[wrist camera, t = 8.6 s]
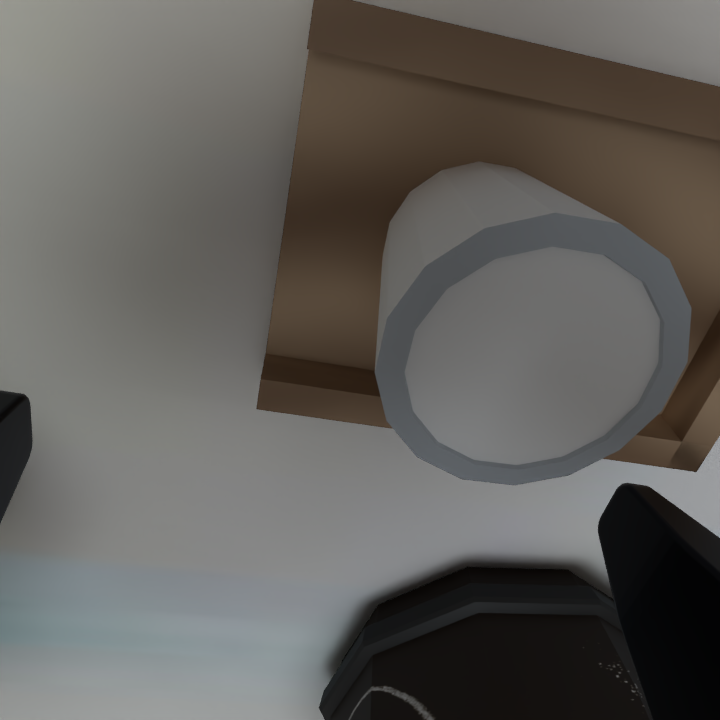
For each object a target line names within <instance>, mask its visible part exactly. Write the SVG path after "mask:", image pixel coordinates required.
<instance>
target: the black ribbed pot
mask: <svg viewBox="0 0 720 720" xmlns="http://www.w3.org/2000/svg"><path fill="white" fill-rule="evenodd" d="M319 709H320V711H321V713H322V715H323V717H324V719H325V720H652V717H651V714H650V711H649V708H648V705H647V702H646V699H645V696H644V693H643V690H642V688H641V685H640V682H639V679H638V676H637V673H636V670H635V667H634V664H633V661H632V658H631V655H630V653H629V650H628V647H627V644H626V641H625V638H624V635H623V632H622V628H621V625H620V622H619V618H618V615H617V611H616V607H615V603H614V600H613V599H612V598H610V597H609V596H607V595H606V594H604V593H603V592H601V591H600V590H598V589H597V588H595V587H594V586H592V585H591V584H589V583H588V582H586V581H585V580H583V579H581V578H580V577H578V576H577V575H575V574H574V573H572V572H571V571H569V570H562V569H525V568H487V567H466V568H464V569H461V570H459V571H457V572H454V573H452V574H450V575H447V576H445V577H443V578H440V579H438V580H435V581H433V582H431V583H428V584H426V585H424V586H421V587H419V588H417V589H414V590H412V591H409V592H407V593H405V594H402V595H400V596H398V597H395V598H393V599H391V600H388V601H386V602H384V603H381V604H379V605H378V606H377V608H376V609H375V611H374V613H373V614H372V616H371V617H370V619H369V620H368V622H367V623H366V625H365V626H364V628H363V629H362V631H361V633H360V634H359V636H358V637H357V639H356V640H355V642H354V643H353V645H352V646H351V648H350V650H349V651H348V653H347V654H346V656H345V657H344V659H343V660H342V664H341V665H340V667H339V668H338V670H337V672H336V673H335V675H334V676H333V678H332V679H331V681H330V682H329V684H328V685H327V687H326V688H325V690H324V692H323V696H322V699H321V703H320V706H319Z"/></svg>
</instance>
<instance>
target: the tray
mask: <svg viewBox="0 0 720 720" xmlns="http://www.w3.org/2000/svg"><path fill="white" fill-rule="evenodd" d="M307 49H309V52H308V59H307V66H306V74H305V81H304V88H303V95H302V102H301V109H300V116H299V123H298V130H297V137H296V144H295V151H294V158H293V165H292V172H291V179H290V186H289V193H288V200H287V207H286V215H285V222H284V229H283V236H282V243H281V250H280V257H279V264H278V271H277V278H276V285H275V292H274V299H273V306H272V313H271V320H270V327H269V334H268V341H267V349H266V355H265V360H264V365H263V370H262V375H261V381H260V388H259V395H258V402H257V409H259V410H266V411H273V412H280V413H287V414H294V415H301V416H308V417H315V418H322V419H329V420H336V421H343V422H350V423H357V424H364V425H371V426H378V427H385V428H392V427H391V426H390V424H389V423H388V422H387V421H386V417H385V413H384V409H383V404H382V400H381V396H380V392H379V388H378V384H377V380H376V376H375V361H376V346H377V331H378V316H379V302H380V287H381V272H382V257H383V251H384V247H385V242H386V237H387V232H388V227H389V223H390V221H391V219H392V218H393V216H394V215H395V213H396V212H397V210H398V209H399V208H400V206H401V205H402V203H403V202H404V200H405V199H406V197H407V196H408V194H409V193H410V191H412V190H413V189H415V188H416V187H418V186H419V185H421V184H422V183H424V182H425V181H426V180H428V179H429V178H431V177H432V176H434V175H435V174H437V173H438V172H440V171H441V170H444V169H448V168H452V167H457V166H461V165H466V164H470V163H474V162H485V163H491V164H496V165H502V166H507V167H513V168H516V169H518V170H520V171H522V172H524V173H526V174H527V175H529V176H531V177H533V178H535V179H537V180H539V181H541V182H543V183H544V184H546V185H548V186H550V187H552V188H554V189H556V190H558V191H560V192H561V193H563V194H565V195H567V196H569V197H571V198H573V199H575V200H577V201H578V202H580V203H582V204H584V205H586V206H588V207H590V208H592V209H594V210H595V211H597V212H599V213H601V214H603V215H605V216H607V217H609V218H611V219H612V220H614V221H616V222H618V223H620V224H622V225H623V226H624V227H626V228H627V229H629V230H630V231H631V232H633V233H634V234H636V235H637V236H638V237H640V238H641V239H642V240H644V241H645V242H647V243H648V244H649V245H651V246H652V247H653V248H655V249H656V250H658V251H659V252H660V253H662V254H663V255H664V256H666V257H667V258H669V260H670V262H671V264H672V266H673V268H674V271H675V273H676V275H677V277H678V279H679V282H680V284H681V286H682V288H683V291H684V293H685V295H686V297H687V299H688V302H689V304H690V306H691V308H692V309H691V323H690V336H689V350H688V362H687V364H686V366H685V368H684V370H683V372H682V373H681V375H680V377H679V379H678V381H677V383H676V385H675V387H674V389H673V390H672V392H671V394H670V396H669V398H668V400H667V402H666V404H665V405H664V407H663V409H662V411H661V412H660V413H659V414H658V415H657V416H656V417H655V418H654V419H653V420H651V421H650V422H649V423H648V424H647V425H646V426H645V427H644V428H643V429H642V430H641V431H640V432H639V433H637V434H636V435H635V436H634V437H633V438H632V439H631V440H630V441H629V442H628V443H627V444H626V445H625V446H623V447H622V448H621V449H620V450H619V451H617V452H615V453H613V454H611V455H609V456H607V457H605V458H603V459H609V460H616V461H623V462H631V463H638V464H645V465H652V466H659V467H666V468H673V469H680V470H687V471H694V472H697V470H698V469H699V467H700V466H701V464H702V462H703V461H704V459H705V458H706V456H707V455H708V453H709V451H710V450H711V448H712V447H713V445H714V443H715V442H716V440H717V439H718V437H719V436H720V87H718V86H714V85H710V84H705V83H701V82H697V81H693V80H688V79H684V78H680V77H676V76H671V75H667V74H663V73H659V72H654V71H650V70H646V69H642V68H637V67H633V66H629V65H625V64H620V63H616V62H612V61H607V60H603V59H599V58H595V57H590V56H586V55H582V54H578V53H573V52H569V51H565V50H561V49H556V48H552V47H548V46H544V45H539V44H535V43H531V42H527V41H522V40H518V39H514V38H510V37H505V36H501V35H497V34H493V33H488V32H484V31H480V30H476V29H471V28H467V27H463V26H459V25H454V24H450V23H446V22H441V21H437V20H433V19H429V18H424V17H420V16H416V15H412V14H407V13H403V12H399V11H395V10H390V9H386V8H382V7H378V6H373V5H369V4H365V3H361V2H356V1H352V0H314V3H313V10H312V17H311V24H310V31H309V39H308V46H307ZM392 429H393V428H392Z"/></svg>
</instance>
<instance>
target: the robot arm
mask: <svg viewBox="0 0 720 720" xmlns="http://www.w3.org/2000/svg"><path fill="white" fill-rule="evenodd" d="M31 449H32V424H31V407H30V401H29V398H28V397H27V396H26V395H25V394H21V393H14V392H7V391H0V523H1V521H2V518H3V516H4V514H5V511H6V509H7V507H8V505H9V502H10V500H11V498H12V496H13V493H14V491H15V489H16V487H17V484H18V482H19V480H20V477H21V475H22V473H23V471H24V468H25V466H26V464H27V462H28V459H29V457H30V453H31ZM598 534H599V539H600V543H601V548H602V552H603V556H604V560H605V565H606V569H607V573H608V577H609V582H610V586H611V590H612V594H613V599H614V603H615V607H616V611H617V615H618V618H619V622H620V625H621V628H622V632H623V635H624V638H625V641H626V644H627V647H628V650H629V653H630V655H631V658H632V661H633V664H634V667H635V670H636V673H637V676H638V679H639V682H640V685H641V688H642V690H643V693H644V696H645V699H646V702H647V705H648V708H649V711H650V714H651V717H652V720H720V538H719V537H718V536H716V535H715V534H714V533H712V532H711V531H709V530H708V529H707V528H705V527H704V526H703V525H701V524H700V523H698V522H697V521H696V520H694V519H693V518H692V517H690V516H689V515H687V514H686V513H685V512H683V511H682V510H681V509H679V508H678V507H676V506H675V505H674V504H672V503H671V502H670V501H668V500H667V499H665V498H664V497H663V496H661V495H660V494H659V493H657V492H656V491H654V490H653V489H652V488H650V487H648V486H644V485H637V484H631V483H624V484H622V485H620V486H619V487H618V488H617V489H616V491H615V493H614V495H613V496H612V498H611V500H610V502H609V503H608V505H607V507H606V509H605V510H604V512H603V514H602V516H601V518H600V520H599V524H598Z"/></svg>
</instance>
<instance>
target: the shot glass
mask: <svg viewBox="0 0 720 720" xmlns="http://www.w3.org/2000/svg"><path fill="white" fill-rule="evenodd" d="M691 309H692V308H691V306H690V304H689V302H688V299H687V297H686V295H685V293H684V291H683V288H682V286H681V284H680V282H679V279H678V277H677V275H676V273H675V271H674V268H673V266H672V264H671V262H670V260H669V258H667V257H666V256H664V255H663V254H662V253H660V252H659V251H658V250H656V249H655V248H653V247H652V246H651V245H649V244H648V243H647V242H645V241H644V240H642V239H641V238H640V237H638V236H637V235H636V234H634V233H633V232H631V231H630V230H629V229H627V228H626V227H624V226H623V225H622V224H620V223H618V222H616V221H614V220H612V219H611V218H609V217H607V216H605V215H603V214H601V213H599V212H597V211H595V210H594V209H592V208H590V207H588V206H586V205H584V204H582V203H580V202H578V201H577V200H575V199H573V198H571V197H569V196H567V195H565V194H563V193H561V192H560V191H558V190H556V189H554V188H552V187H550V186H548V185H546V184H544V183H543V182H541V181H539V180H537V179H535V178H533V177H531V176H529V175H527V174H526V173H524V172H522V171H520V170H518V169H516V168H513V167H507V166H502V165H496V164H491V163H485V162H474V163H470V164H466V165H461V166H457V167H452V168H448V169H444V170H441V171H440V172H438V173H437V174H435V175H434V176H432V177H431V178H429V179H428V180H426V181H425V182H424V183H422V184H421V185H419V186H418V187H416V188H415V189H413V190H412V191H410V193H409V194H408V196H407V197H406V199H405V200H404V202H403V203H402V205H401V206H400V208H399V209H398V210H397V212H396V213H395V215H394V216H393V218H392V219H391V221H390V223H389V227H388V232H387V237H386V242H385V247H384V251H383V257H382V272H381V287H380V302H379V316H378V331H377V346H376V361H375V376H376V380H377V384H378V388H379V392H380V396H381V400H382V404H383V409H384V413H385V417H386V421H387V422H388V423H389V424H390V426H391V427H392V428H393V429H394V430H395V431H396V433H397V434H398V435H399V436H400V437H401V438H402V440H403V441H404V442H405V443H406V444H407V446H408V447H409V448H410V449H411V450H412V451H413V453H414V454H415V455H416V456H417V457H418V458H420V459H422V460H424V461H426V462H428V463H430V464H432V465H434V466H436V467H438V468H440V469H442V470H444V471H446V472H448V473H450V474H452V475H454V476H456V477H459V478H461V479H464V480H473V481H482V482H490V483H499V484H508V485H518V484H524V483H529V482H535V481H540V480H546V479H551V478H556V477H562V476H567V475H570V474H572V473H574V472H576V471H578V470H580V469H582V468H584V467H586V466H588V465H590V464H592V463H594V462H596V461H598V460H600V459H603V458H605V457H607V456H609V455H611V454H613V453H615V452H617V451H619V450H620V449H621V448H622V447H623V446H625V445H626V444H627V443H628V442H629V441H630V440H631V439H632V438H633V437H634V436H635V435H636V434H637V433H639V432H640V431H641V430H642V429H643V428H644V427H645V426H646V425H647V424H648V423H649V422H650V421H651V420H653V419H654V418H655V417H656V416H657V415H658V414H659V413H660V412H661V411H662V409H663V407H664V405H665V404H666V402H667V400H668V398H669V396H670V394H671V392H672V390H673V389H674V387H675V385H676V383H677V381H678V379H679V377H680V375H681V373H682V372H683V370H684V368H685V366H686V364H687V362H688V350H689V336H690V323H691Z"/></svg>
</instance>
